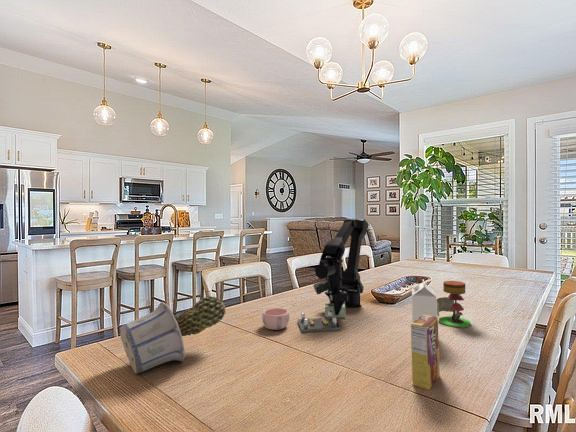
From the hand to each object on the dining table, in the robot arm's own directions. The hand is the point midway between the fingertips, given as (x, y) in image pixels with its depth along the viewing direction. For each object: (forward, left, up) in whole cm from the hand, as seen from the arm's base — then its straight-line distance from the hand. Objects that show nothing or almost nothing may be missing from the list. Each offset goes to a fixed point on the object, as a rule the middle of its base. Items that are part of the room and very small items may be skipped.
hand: (334, 312), depth 135 cm
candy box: (-10, +53, -1) cm, 54 cm away
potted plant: (+55, +31, -1) cm, 63 cm away
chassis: (+9, +11, -1) cm, 14 cm away
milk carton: (-23, +28, -1) cm, 36 cm away
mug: (+25, +9, -1) cm, 27 cm away
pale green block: (0, 0, -1) cm, 1 cm away
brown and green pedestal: (-42, +15, -1) cm, 45 cm away
